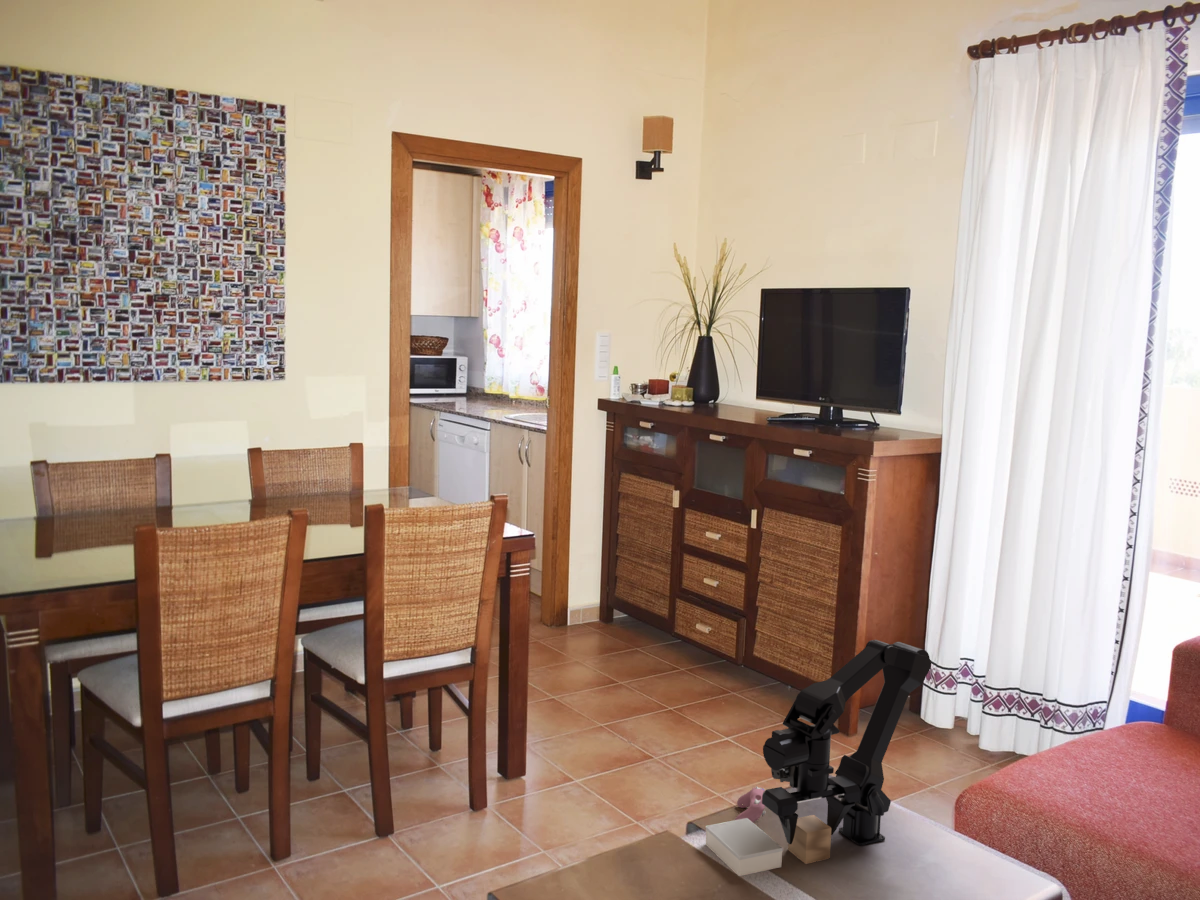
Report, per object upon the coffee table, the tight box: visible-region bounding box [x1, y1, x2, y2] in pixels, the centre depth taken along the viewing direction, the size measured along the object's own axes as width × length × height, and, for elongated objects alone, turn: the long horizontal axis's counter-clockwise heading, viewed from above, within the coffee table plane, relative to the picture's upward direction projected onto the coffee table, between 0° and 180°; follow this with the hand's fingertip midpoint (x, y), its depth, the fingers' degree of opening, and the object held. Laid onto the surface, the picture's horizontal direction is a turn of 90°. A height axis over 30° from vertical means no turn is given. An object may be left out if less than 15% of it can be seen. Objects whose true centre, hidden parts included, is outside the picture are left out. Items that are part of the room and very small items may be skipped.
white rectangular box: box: [705, 818, 784, 877], centre depth 178 cm, size 9×12×4 cm
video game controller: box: [734, 785, 766, 824], centre depth 193 cm, size 10×5×7 cm, turn 169°
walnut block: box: [787, 814, 832, 865], centre depth 179 cm, size 6×6×6 cm
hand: (809, 838), depth 179 cm, fingers open, 9 cm apart
